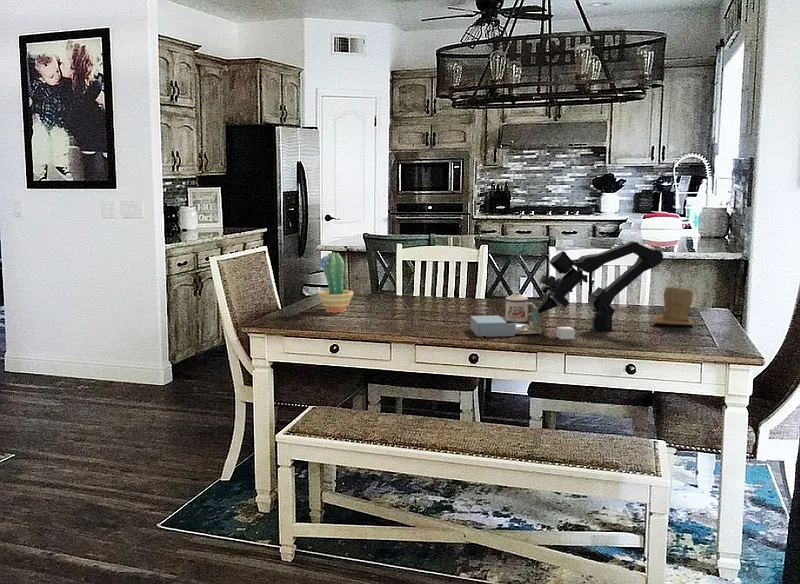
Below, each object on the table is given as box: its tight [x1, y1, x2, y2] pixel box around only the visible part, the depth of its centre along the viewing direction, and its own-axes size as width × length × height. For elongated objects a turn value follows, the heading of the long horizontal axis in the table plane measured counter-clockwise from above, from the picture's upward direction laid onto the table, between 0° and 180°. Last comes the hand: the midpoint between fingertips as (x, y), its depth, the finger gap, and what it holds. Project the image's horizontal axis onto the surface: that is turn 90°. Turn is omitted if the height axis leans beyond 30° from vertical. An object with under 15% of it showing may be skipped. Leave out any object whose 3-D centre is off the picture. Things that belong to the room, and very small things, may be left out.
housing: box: [470, 315, 516, 338], centre depth 289 cm, size 14×14×5 cm
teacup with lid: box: [504, 291, 536, 323], centre depth 312 cm, size 12×9×12 cm
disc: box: [509, 322, 525, 330], centre depth 290 cm, size 7×7×2 cm
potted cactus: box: [317, 252, 354, 314], centre depth 333 cm, size 15×15×25 cm
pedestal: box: [555, 326, 575, 340], centre depth 280 cm, size 5×5×4 cm
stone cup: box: [652, 286, 695, 326], centre depth 303 cm, size 15×12×15 cm
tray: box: [515, 306, 542, 335], centre depth 290 cm, size 14×13×8 cm
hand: (537, 312), depth 290 cm, fingers closed
